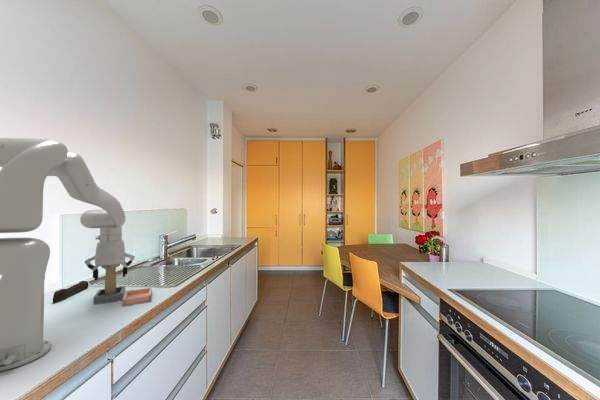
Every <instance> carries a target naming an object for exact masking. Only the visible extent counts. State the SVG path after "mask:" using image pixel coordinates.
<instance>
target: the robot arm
mask: <svg viewBox="0 0 600 400" xmlns="http://www.w3.org/2000/svg"><path fill="white" fill-rule="evenodd" d="M0 167H1V169H0V234H13V233H14V234H16V233H28V232H33V231H35V230H37V229H38V228H40V226H41V224H42V223H43V216H44V215H43V214H44V187H45V186H44V185H45V181H46V179H47V177H57V178H58V180H59V181H60V183H61V184H62V185H63V187H64V189H65V191H66V192H67V194H68V196H70V197H71V198H72V199H74V200H77V201H80V202H82V203H86V204H90V205H93V206H96V207H98V208H100V209H89V210H85V211H84V212H83V213H82V214H81V215H80V218H79V220H80V224H81V225H82V226H83V227H84V228H87V229H99V235H97V236H95V240H99V241H98V242H96V247H95V253H94V256H92V257H90V258H88V259H86V260H85V261H84V264H85V265H86V267H87V268H88V269H90V270H91V271H92V279H94V281H97V280H98V279H99V269H98V268H99V267H101V266H109V265H118V264H120V266H122V277H123V278H125V277H126V275H128V267H129V266H130V265H131V264H132V263H133V261H134V260H135V257H136V256H135V255H132V254H130V253H127V252H126V247H125V241H124V240H123V239H122V238H123V231H122V230H123V229H122V228H123V226H124V224H125V222H126V214H125V211H124V208H123V207H122V204H121V202H120V201H119V200H118V199H117V198H116V197H114V195H112V194H110V193H109V192H108V191H106V190H104V189H103V188H100V187H99V186H98V185H97V183H96V181H95V179H94V176H93V175H92V173H91V171H90V170H89V167H88V166H87V163H86V161H85V160H84V158H83V157H82V156H81V155H80V154H79V153H76V152H75V151H69V150H68V147H67V146H66V145H65V144H64V143H63V142H61V141H58V140H54V139H49V138H48V139H47V138H26V137H25V138H21V137H18V138H17V137H0ZM50 248H51V247H50V246H49V244H48V243H47V242H45V241H44V240H42V239H39V238H36V237H35V238H34V237H0V276H1V277H0V372H3V371H7V370H11V369H14V368H18V367H20V366H23V365H26V364H28V363H31V362H34V361H35V360H37V359H39V358H40V357H43V356H44V355H45V354H46V353H48V352H49V351H50V350H51V348H52V342H51V341H50V340H46V339H44V329H45V328H44V326H45V325H44V324H45V322H44V321H45V315H44V314H45V279H46V272H47V267H48V263H49V260H50V256H51V249H50ZM126 258H128V259H129V260H128V261H126ZM92 261H94V265H93V263H91V262H92Z"/></svg>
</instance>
